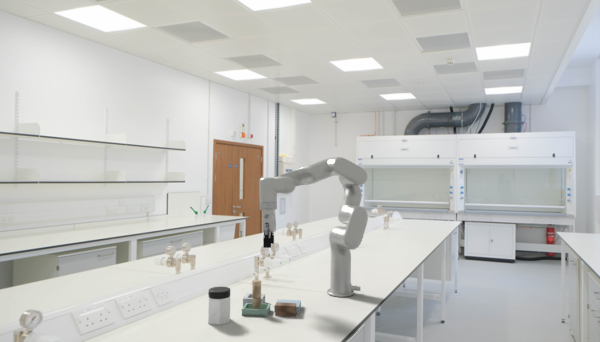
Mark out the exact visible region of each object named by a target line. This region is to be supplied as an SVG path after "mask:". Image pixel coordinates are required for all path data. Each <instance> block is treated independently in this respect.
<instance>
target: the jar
mask: <svg viewBox="0 0 600 342" xmlns="http://www.w3.org/2000/svg"><path fill="white" fill-rule="evenodd" d="M207 317H208V319H207V321H208V322H207V323H208V324H210V325H215V324H217V326H221V324H222V325H225V323H226V324H228V323H230V322H231V288H230V287H228V286H214V287H210V288H209V289H208V316H207Z"/></svg>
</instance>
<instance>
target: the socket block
mask: <svg viewBox="0 0 600 342" xmlns="http://www.w3.org/2000/svg"><path fill="white" fill-rule="evenodd" d="M246 303H252V292H251V293H246V294H245V296H244V297H243V298H242V308H243V307H244V306H245V304H246ZM261 304H266V293H261Z"/></svg>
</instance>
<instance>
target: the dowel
mask: <svg viewBox="0 0 600 342" xmlns="http://www.w3.org/2000/svg"><path fill="white" fill-rule="evenodd" d="M251 285H252V286H251V287H252V288H251V289H252V291H251V294H252V309H261V294H262V280H260V279H259V280H258V279H255V280H252V283H251Z"/></svg>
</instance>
